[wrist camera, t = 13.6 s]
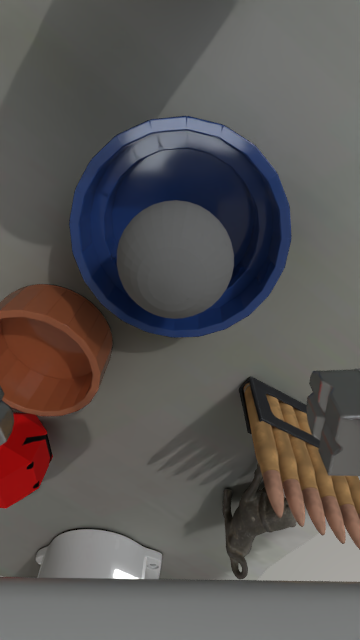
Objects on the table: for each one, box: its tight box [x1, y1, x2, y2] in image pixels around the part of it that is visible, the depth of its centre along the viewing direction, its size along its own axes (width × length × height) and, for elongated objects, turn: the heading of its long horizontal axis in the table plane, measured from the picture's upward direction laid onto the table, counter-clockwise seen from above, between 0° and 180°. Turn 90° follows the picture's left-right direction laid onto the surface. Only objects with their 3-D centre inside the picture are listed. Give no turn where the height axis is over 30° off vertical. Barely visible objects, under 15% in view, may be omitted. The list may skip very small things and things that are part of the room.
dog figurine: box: [223, 463, 296, 579], centre depth 35 cm, size 12×6×7 cm, turn 158°
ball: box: [0, 413, 53, 508], centre depth 31 cm, size 8×8×8 cm
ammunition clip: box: [239, 377, 360, 549], centre depth 26 cm, size 11×2×12 cm, turn 59°
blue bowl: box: [69, 116, 291, 338], centre depth 21 cm, size 13×13×5 cm
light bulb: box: [117, 200, 234, 319], centre depth 18 cm, size 6×6×10 cm
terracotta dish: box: [0, 284, 113, 416], centre depth 27 cm, size 10×10×4 cm
